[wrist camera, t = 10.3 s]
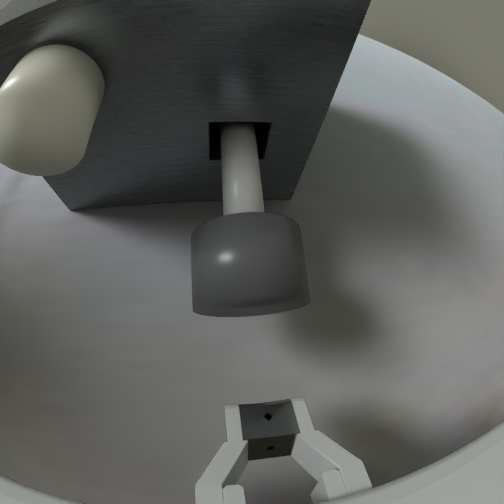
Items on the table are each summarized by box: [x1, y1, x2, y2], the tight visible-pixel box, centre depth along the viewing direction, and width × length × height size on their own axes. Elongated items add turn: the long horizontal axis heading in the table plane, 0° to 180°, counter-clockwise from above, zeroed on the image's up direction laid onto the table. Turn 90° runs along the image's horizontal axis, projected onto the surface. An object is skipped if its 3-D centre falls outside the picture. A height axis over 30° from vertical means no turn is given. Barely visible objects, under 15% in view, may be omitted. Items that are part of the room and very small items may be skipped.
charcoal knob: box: [191, 122, 310, 317], centre depth 13 cm, size 10×5×5 cm, turn 5°
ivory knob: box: [0, 44, 105, 176], centre depth 9 cm, size 10×5×5 cm, turn 5°
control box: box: [0, 0, 371, 211], centre depth 15 cm, size 12×16×15 cm
